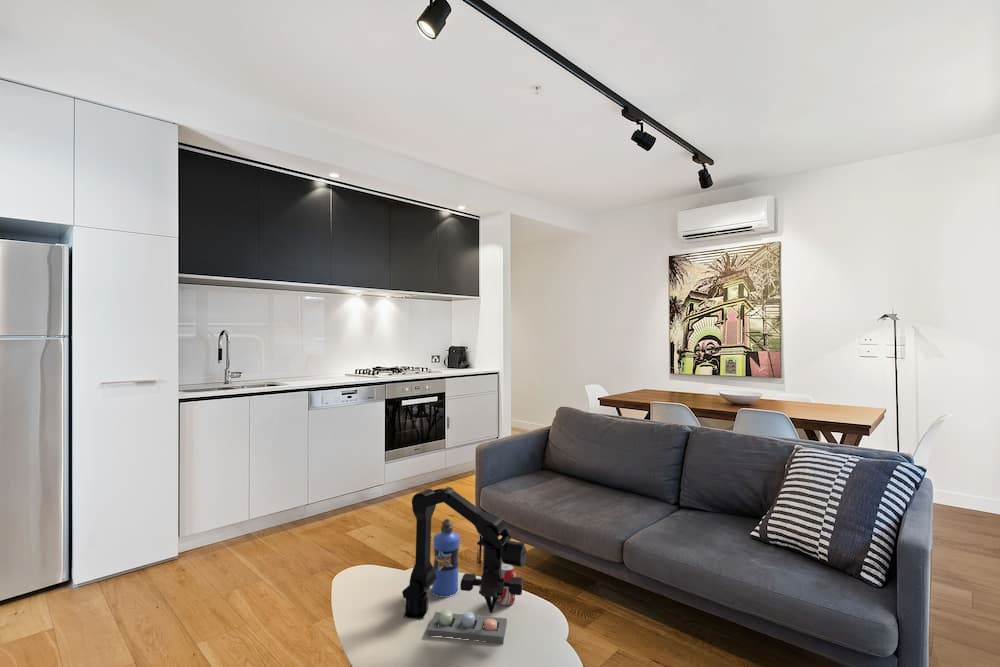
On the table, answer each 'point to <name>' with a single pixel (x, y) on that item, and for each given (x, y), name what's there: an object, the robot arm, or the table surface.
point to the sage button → (445, 618)
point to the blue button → (468, 620)
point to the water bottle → (446, 560)
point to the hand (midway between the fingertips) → (491, 612)
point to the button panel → (468, 633)
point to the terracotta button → (490, 625)
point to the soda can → (507, 597)
